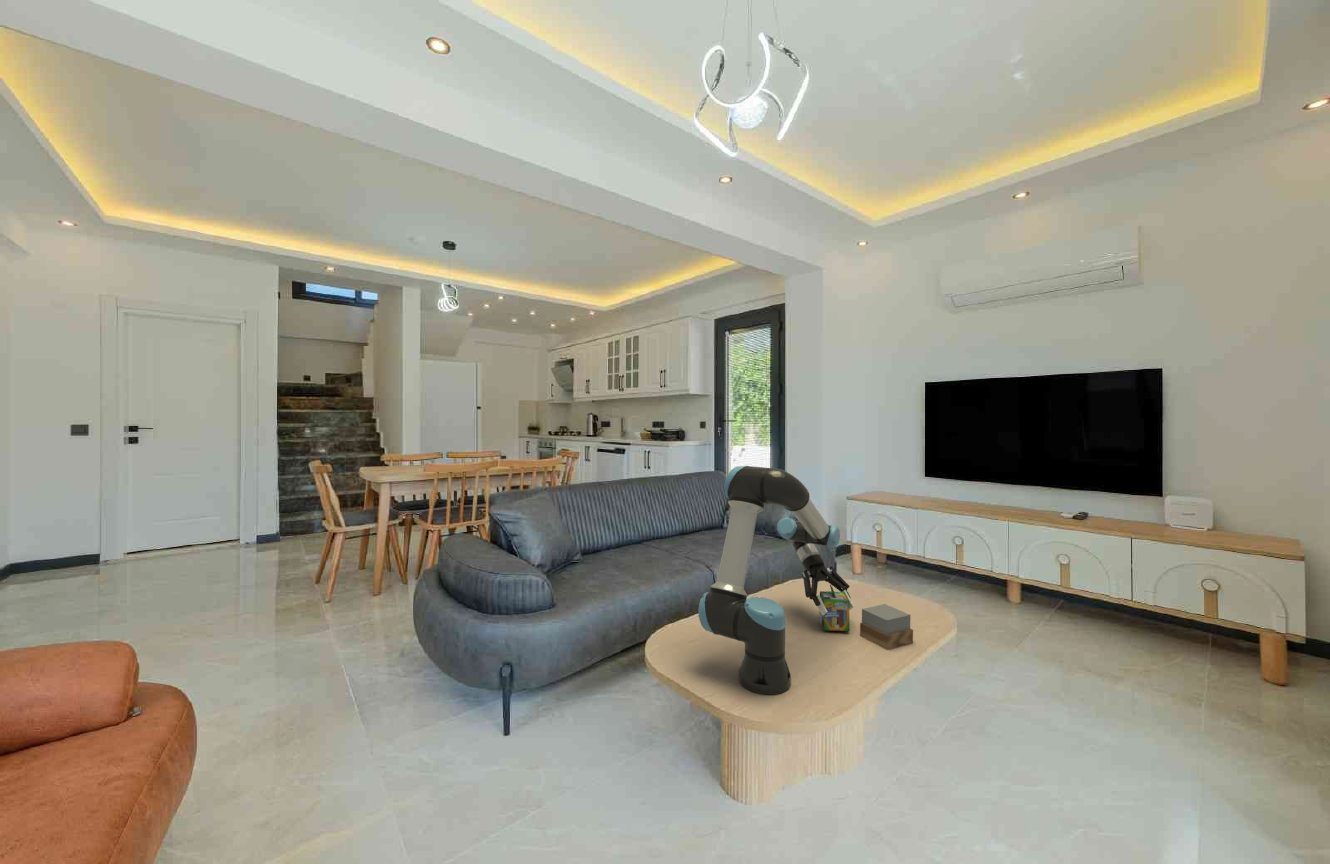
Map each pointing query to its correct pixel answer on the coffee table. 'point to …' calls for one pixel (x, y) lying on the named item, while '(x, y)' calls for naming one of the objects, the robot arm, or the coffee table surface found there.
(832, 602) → the chalk box
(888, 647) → the tower bottom slab
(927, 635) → the coffee table surface
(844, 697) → the coffee table surface
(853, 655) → the coffee table surface
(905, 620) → the tower top slab
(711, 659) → the coffee table surface
